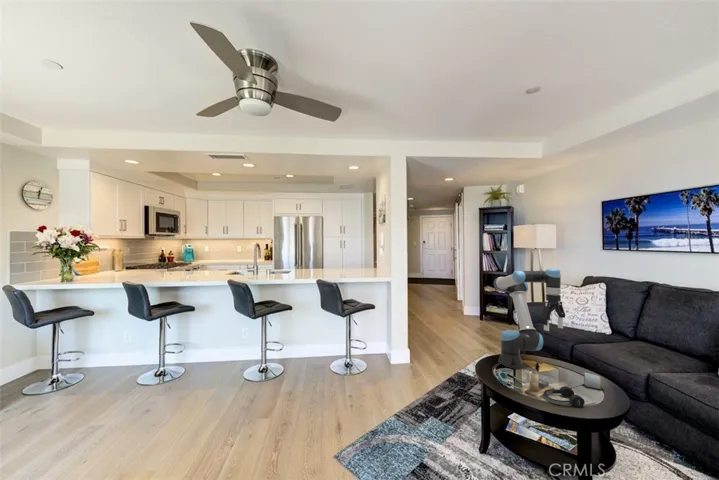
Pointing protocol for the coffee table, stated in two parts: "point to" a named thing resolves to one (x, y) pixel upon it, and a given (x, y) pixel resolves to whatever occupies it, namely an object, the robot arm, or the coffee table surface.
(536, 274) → the robot arm
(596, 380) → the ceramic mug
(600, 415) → the coffee table surface
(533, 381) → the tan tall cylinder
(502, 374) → the sunglasses
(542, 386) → the block
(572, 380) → the coffee table surface
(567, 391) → the headset
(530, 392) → the plywood panel
